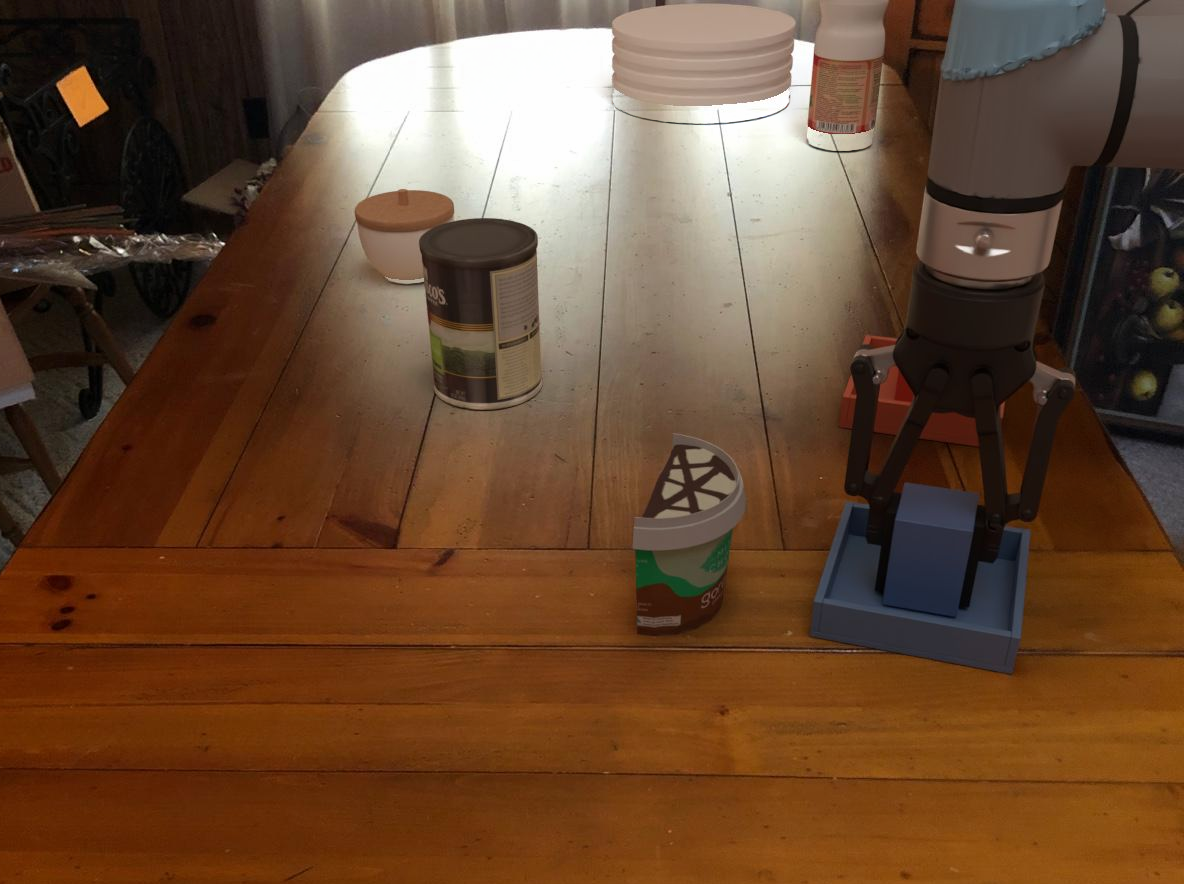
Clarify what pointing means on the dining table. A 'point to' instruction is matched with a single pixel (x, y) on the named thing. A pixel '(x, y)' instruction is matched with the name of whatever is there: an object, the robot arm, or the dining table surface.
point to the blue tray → (966, 639)
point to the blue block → (930, 548)
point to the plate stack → (702, 54)
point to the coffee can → (483, 312)
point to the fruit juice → (847, 66)
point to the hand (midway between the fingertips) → (923, 587)
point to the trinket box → (400, 229)
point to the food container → (686, 538)
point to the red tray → (893, 411)
